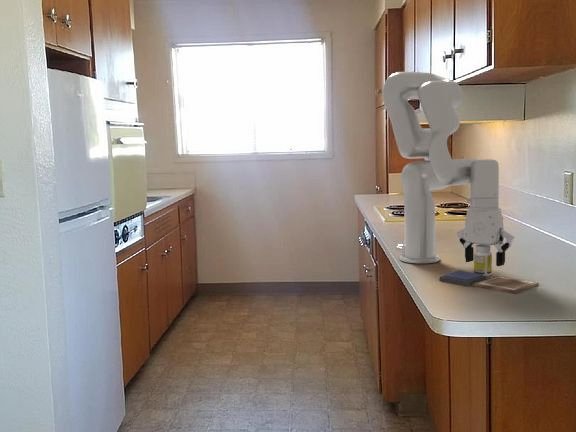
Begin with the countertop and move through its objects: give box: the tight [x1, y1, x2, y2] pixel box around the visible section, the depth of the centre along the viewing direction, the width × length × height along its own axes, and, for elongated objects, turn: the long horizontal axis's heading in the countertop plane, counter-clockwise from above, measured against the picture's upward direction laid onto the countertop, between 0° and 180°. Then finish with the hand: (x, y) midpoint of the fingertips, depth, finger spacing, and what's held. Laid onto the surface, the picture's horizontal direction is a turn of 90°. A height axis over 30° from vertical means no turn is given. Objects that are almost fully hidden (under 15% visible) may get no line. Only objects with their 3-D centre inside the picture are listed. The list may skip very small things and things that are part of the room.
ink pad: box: [439, 270, 488, 287], centre depth 167 cm, size 9×9×2 cm
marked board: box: [472, 275, 540, 295], centre depth 161 cm, size 12×12×1 cm
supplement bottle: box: [473, 244, 493, 277], centre depth 173 cm, size 5×5×8 cm
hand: (484, 263), depth 173 cm, fingers open, 9 cm apart
